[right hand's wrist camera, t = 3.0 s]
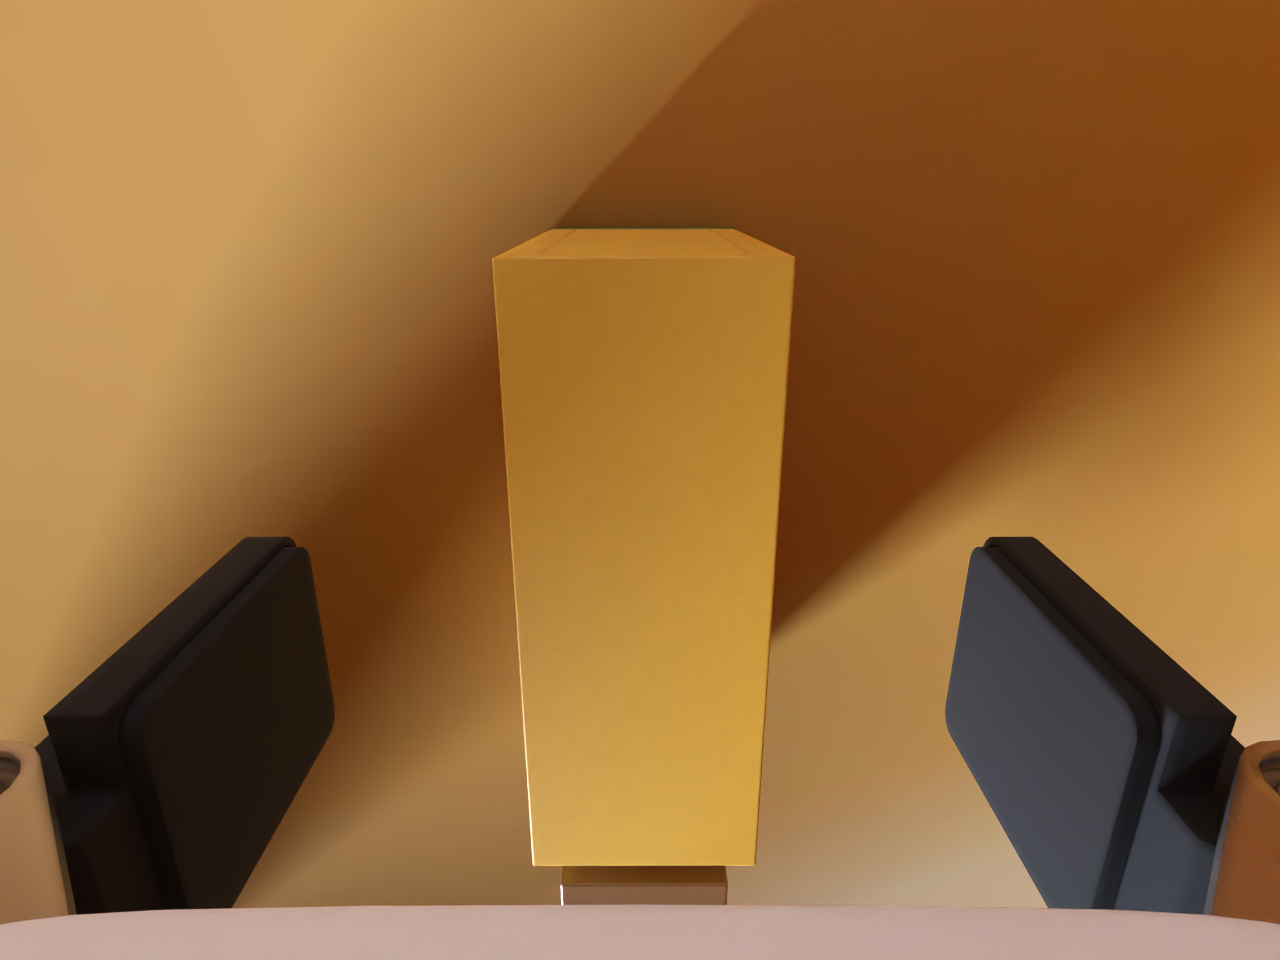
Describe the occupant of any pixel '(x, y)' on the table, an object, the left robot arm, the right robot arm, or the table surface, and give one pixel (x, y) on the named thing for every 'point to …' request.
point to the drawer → (644, 885)
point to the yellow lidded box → (643, 533)
